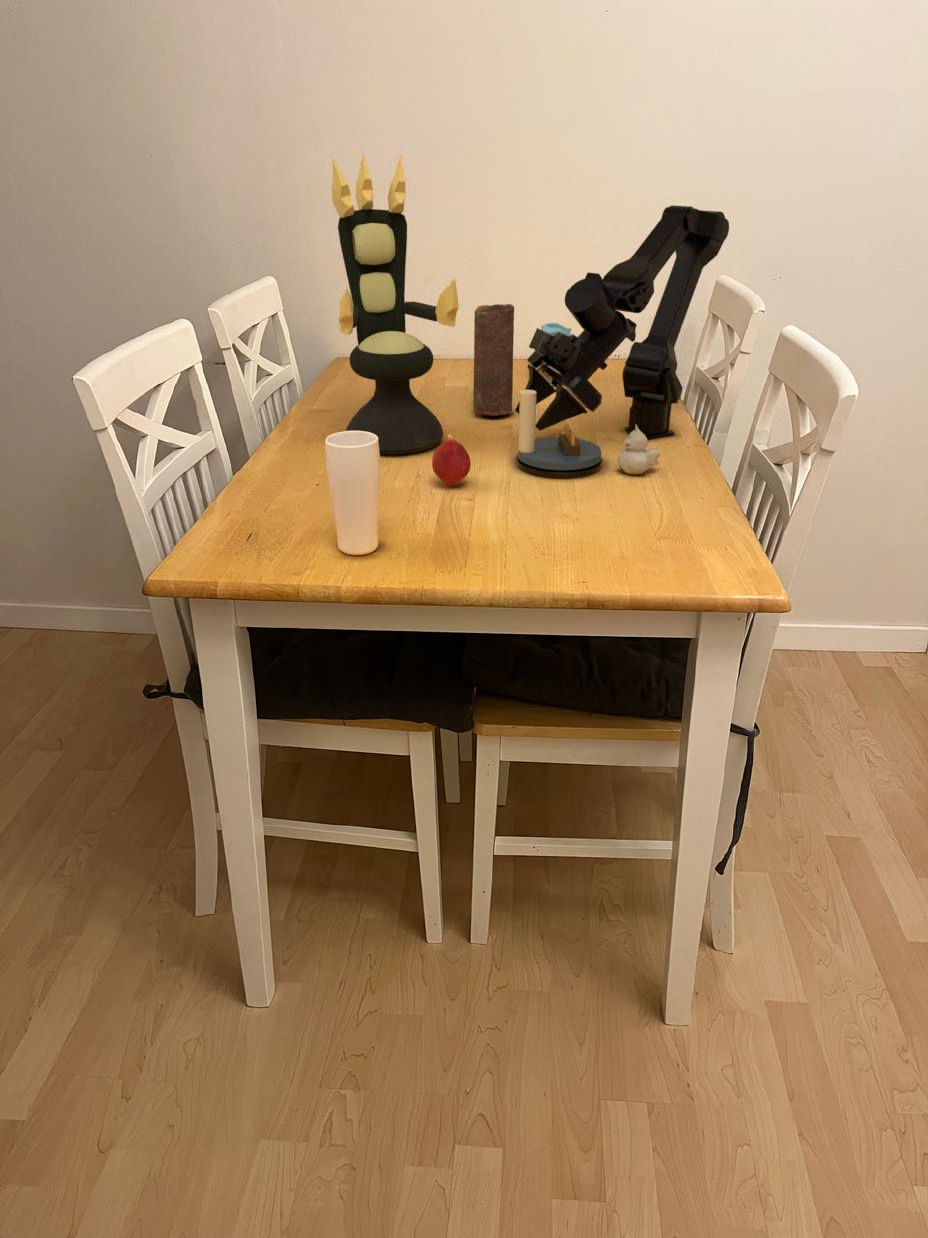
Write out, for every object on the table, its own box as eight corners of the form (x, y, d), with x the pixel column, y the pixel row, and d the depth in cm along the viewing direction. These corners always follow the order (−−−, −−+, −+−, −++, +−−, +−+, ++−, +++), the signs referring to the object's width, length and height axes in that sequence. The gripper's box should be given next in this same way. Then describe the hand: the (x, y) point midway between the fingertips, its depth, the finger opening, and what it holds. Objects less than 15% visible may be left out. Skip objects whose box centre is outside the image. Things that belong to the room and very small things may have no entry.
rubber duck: (614, 467, 155) (617, 418, 151) (654, 466, 155) (659, 418, 151) (619, 478, 150) (623, 428, 146) (661, 478, 150) (666, 428, 146)
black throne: (353, 465, 156) (335, 157, 135) (320, 427, 174) (299, 151, 153) (462, 451, 162) (460, 155, 141) (418, 416, 180) (411, 149, 159)
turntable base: (573, 446, 164) (573, 440, 164) (619, 470, 153) (619, 464, 153) (500, 457, 159) (500, 451, 159) (542, 484, 148) (543, 478, 148)
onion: (475, 481, 149) (475, 431, 145) (463, 494, 144) (463, 442, 140) (440, 477, 151) (439, 428, 147) (426, 490, 146) (425, 438, 142)
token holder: (591, 442, 162) (595, 379, 157) (609, 468, 150) (614, 401, 145) (512, 444, 161) (514, 381, 156) (524, 471, 149) (526, 403, 144)
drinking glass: (333, 539, 129) (325, 430, 122) (383, 537, 130) (378, 429, 123) (331, 560, 123) (323, 447, 116) (384, 558, 124) (379, 445, 117)
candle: (508, 422, 177) (510, 309, 167) (469, 420, 178) (469, 308, 169) (515, 410, 183) (517, 302, 174) (477, 408, 185) (477, 300, 175)
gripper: (540, 299, 154) (475, 373, 157) (586, 321, 139) (513, 403, 141) (583, 345, 160) (519, 416, 163) (632, 371, 144) (561, 449, 147)
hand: (527, 420), depth 153 cm, fingers open, 9 cm apart
